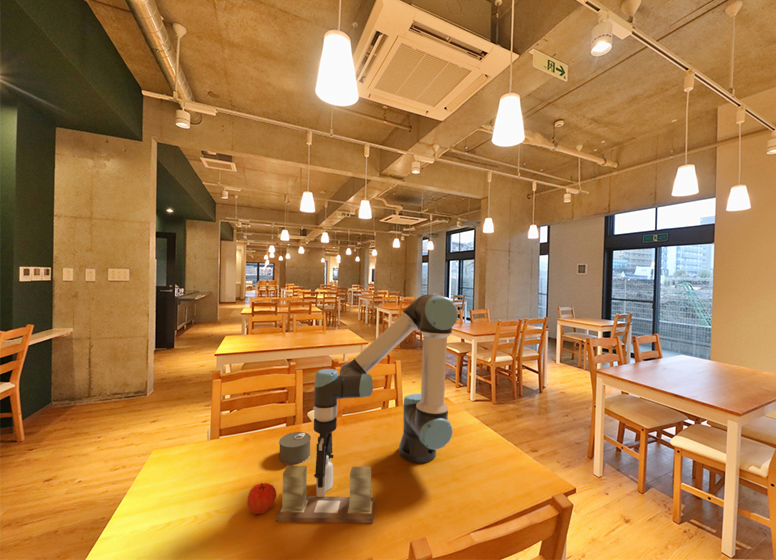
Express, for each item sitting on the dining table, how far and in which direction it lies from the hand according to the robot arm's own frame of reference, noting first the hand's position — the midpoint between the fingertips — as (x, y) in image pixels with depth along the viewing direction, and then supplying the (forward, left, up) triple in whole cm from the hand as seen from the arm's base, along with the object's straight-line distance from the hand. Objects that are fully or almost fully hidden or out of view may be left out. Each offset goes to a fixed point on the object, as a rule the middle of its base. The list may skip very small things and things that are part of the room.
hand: (323, 486), depth 102 cm
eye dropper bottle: (0, -1, -2) cm, 2 cm away
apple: (+17, +9, -2) cm, 19 cm away
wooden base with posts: (-3, +9, -1) cm, 9 cm away
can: (+16, -20, -2) cm, 26 cm away
